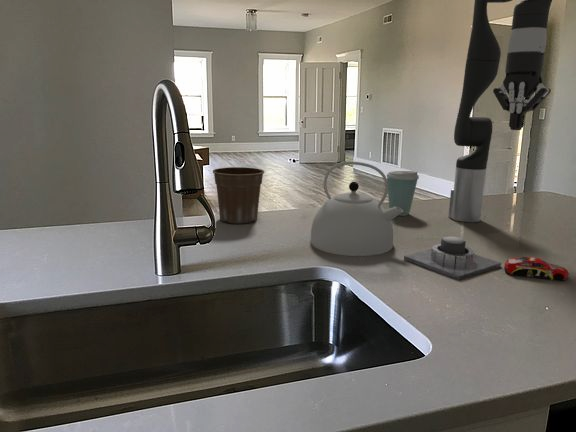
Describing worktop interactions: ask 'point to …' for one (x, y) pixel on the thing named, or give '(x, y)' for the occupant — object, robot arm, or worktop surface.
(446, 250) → the cylindrical peg
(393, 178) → the disposable coffee cup
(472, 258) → the square plate with hole
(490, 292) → the worktop surface
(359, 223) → the kettle
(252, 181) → the plant pot
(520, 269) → the race car
